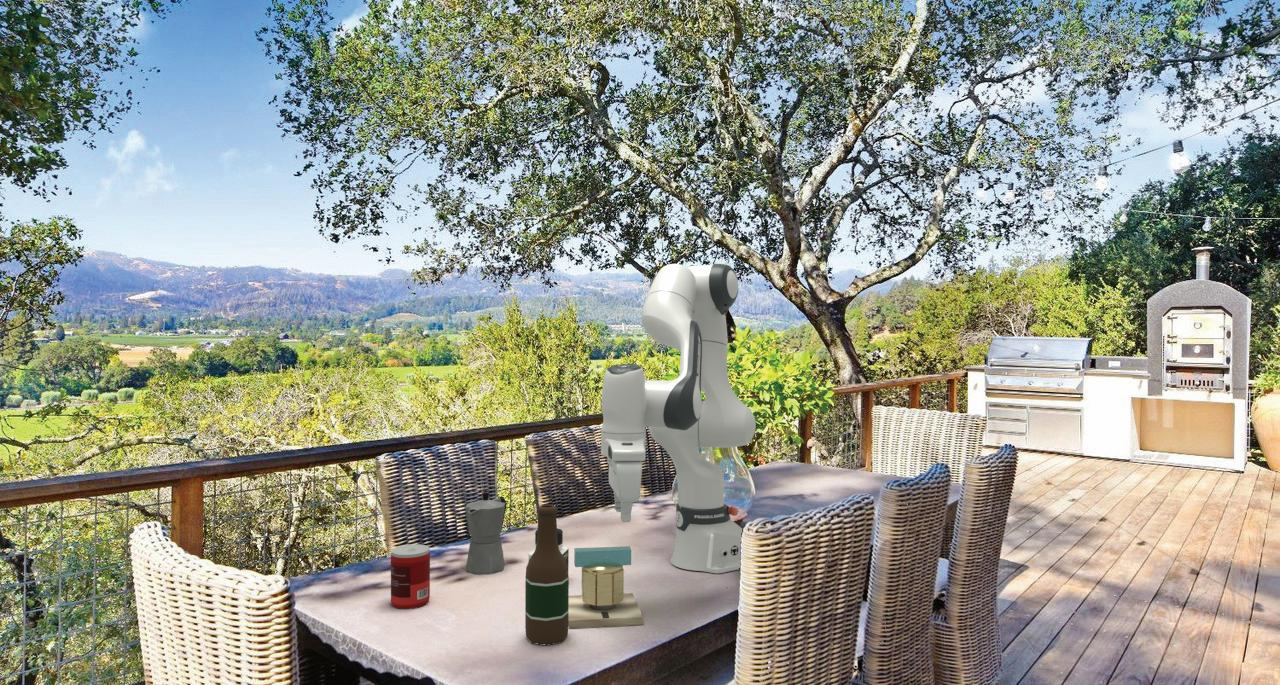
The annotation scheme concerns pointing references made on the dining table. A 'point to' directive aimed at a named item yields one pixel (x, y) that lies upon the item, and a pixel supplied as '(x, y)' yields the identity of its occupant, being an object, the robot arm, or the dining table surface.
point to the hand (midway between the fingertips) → (622, 516)
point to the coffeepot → (485, 535)
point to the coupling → (602, 573)
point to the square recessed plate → (603, 613)
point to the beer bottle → (546, 584)
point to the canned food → (410, 576)
